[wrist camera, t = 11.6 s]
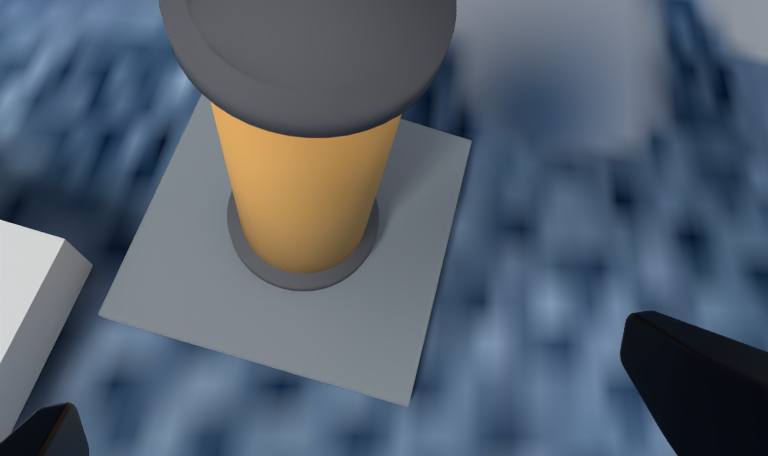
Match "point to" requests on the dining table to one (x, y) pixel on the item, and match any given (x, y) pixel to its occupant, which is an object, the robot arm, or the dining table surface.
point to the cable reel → (307, 117)
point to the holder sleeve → (32, 309)
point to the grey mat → (285, 307)
